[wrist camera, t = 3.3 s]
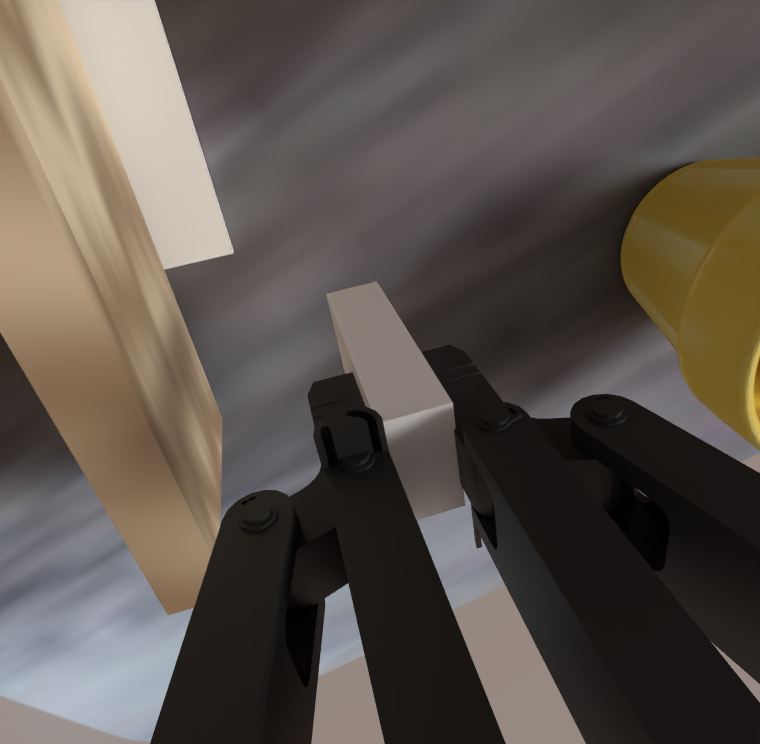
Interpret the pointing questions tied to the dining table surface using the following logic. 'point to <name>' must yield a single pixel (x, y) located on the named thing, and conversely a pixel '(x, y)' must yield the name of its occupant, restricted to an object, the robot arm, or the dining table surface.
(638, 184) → the dining table surface
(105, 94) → the card
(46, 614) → the dining table surface
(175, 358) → the wooden board
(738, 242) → the plant pot
